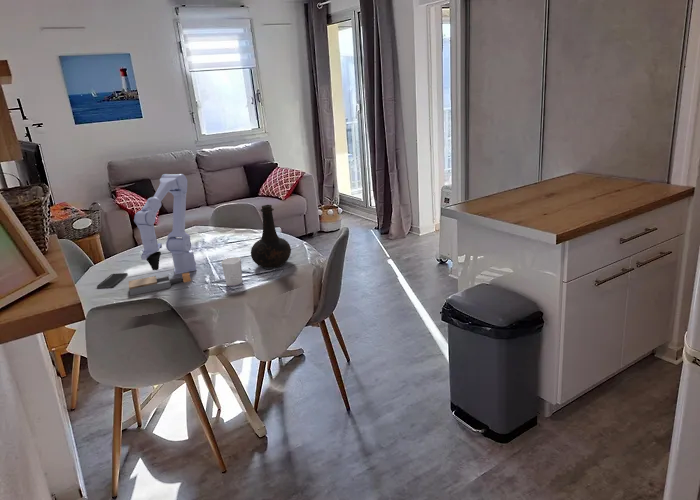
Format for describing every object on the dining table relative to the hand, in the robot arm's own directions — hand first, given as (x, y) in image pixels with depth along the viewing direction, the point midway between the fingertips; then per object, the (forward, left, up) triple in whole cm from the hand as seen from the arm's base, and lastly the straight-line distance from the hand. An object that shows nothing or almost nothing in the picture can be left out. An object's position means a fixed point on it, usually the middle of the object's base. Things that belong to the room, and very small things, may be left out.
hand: (155, 269), depth 214 cm
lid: (+6, 0, -5) cm, 8 cm away
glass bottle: (-49, +2, -8) cm, 50 cm away
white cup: (-29, +14, -8) cm, 34 cm away
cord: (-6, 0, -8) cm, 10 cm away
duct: (+4, 0, -8) cm, 8 cm away
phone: (+19, -18, -8) cm, 27 cm away
